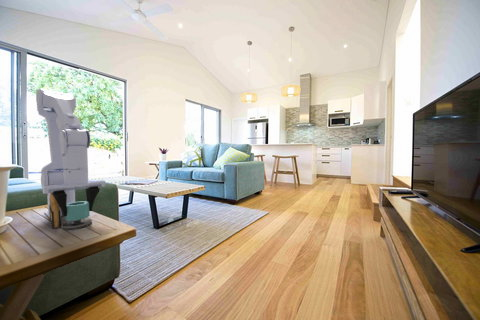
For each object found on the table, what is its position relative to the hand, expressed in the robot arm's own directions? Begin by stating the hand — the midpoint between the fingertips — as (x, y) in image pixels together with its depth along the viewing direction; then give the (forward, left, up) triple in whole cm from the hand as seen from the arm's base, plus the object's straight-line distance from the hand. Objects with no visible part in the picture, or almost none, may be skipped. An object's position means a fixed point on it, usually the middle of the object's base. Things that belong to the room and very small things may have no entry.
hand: (77, 213), depth 60 cm
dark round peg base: (0, 0, -4) cm, 4 cm away
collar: (0, 0, -1) cm, 1 cm away
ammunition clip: (-8, -4, -4) cm, 9 cm away
